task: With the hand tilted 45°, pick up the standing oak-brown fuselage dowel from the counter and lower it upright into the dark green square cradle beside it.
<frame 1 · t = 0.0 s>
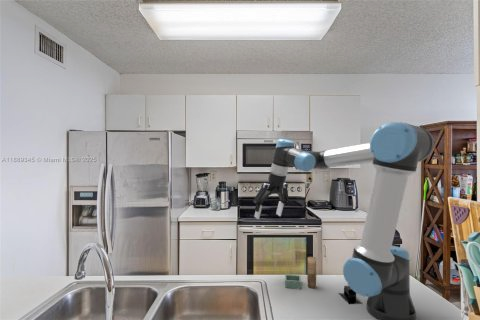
hand: (267, 216, 128), 28 cm above the countertop, tool tilted 20°, fingers open, 13 cm apart
fuselage: (311, 286, 117), on the countertop
cradle: (292, 284, 118), on the countertop
black blocky piece: (349, 300, 106), on the countertop
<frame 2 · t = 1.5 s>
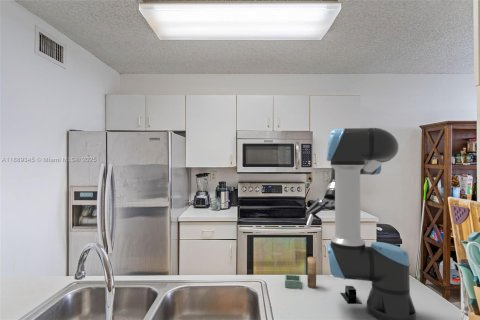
hand: (321, 228, 126), 23 cm above the countertop, tool tilted 45°, fingers open, 13 cm apart
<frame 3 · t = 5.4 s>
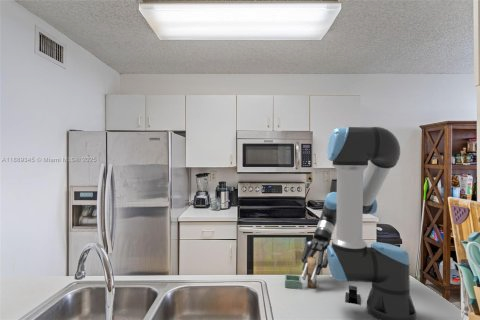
hand: (307, 279, 114), 4 cm above the countertop, tool tilted 45°, fingers closed on fuselage, 3 cm apart
fuselage: (311, 286, 116), on the countertop, touching gripper
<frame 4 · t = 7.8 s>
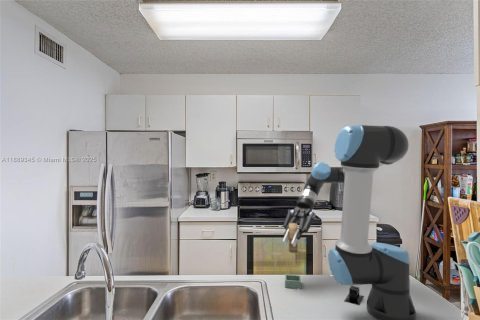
hand: (288, 243, 116), 18 cm above the countertop, tool tilted 45°, fingers closed on fuselage, 3 cm apart
fuselage: (293, 251, 119), point 14 cm above the countertop, touching gripper
when the fingers open (6 cm above the countertop, at t = 10.3 s): fuselage drops 2 cm, resting in cradle.
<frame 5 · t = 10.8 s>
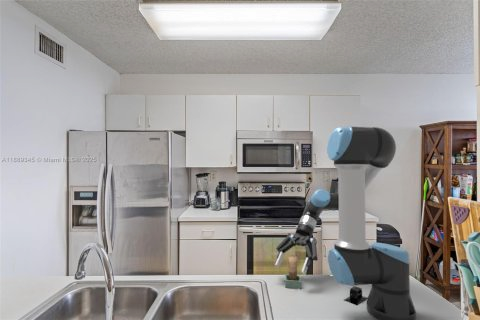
hand: (289, 269, 116), 7 cm above the countertop, tool tilted 45°, fingers open, 12 cm apart
fuselage: (292, 284, 118), resting in cradle
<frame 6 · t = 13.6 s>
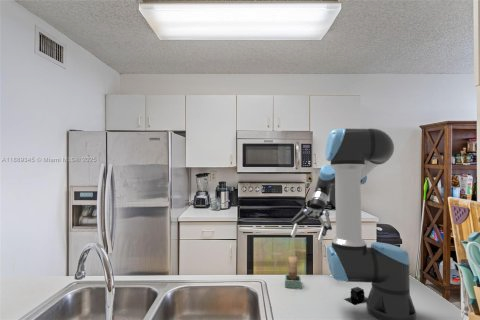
hand: (305, 238, 127), 18 cm above the countertop, tool tilted 45°, fingers open, 13 cm apart
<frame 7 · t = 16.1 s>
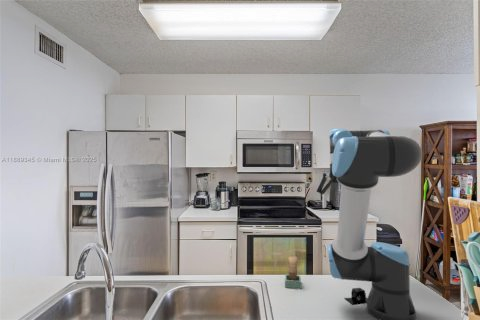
hand: (338, 209, 126), 32 cm above the countertop, tool pointing down, fingers open, 13 cm apart
at the end: fuselage 0.0 cm off-centre on the cradle, point 0.0 cm above the cradle's base; fuselage tilted 0°; the gripper is holding nothing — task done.
